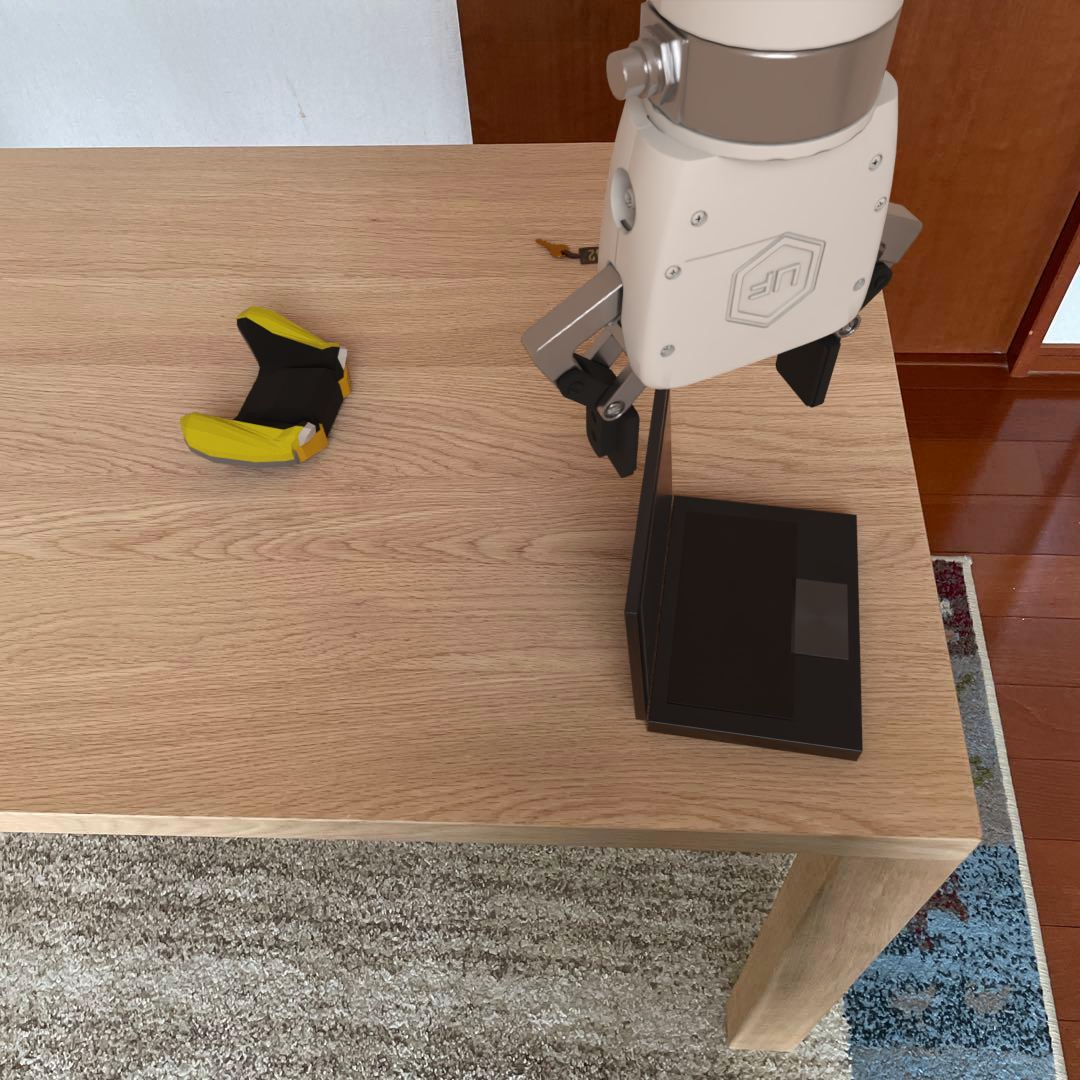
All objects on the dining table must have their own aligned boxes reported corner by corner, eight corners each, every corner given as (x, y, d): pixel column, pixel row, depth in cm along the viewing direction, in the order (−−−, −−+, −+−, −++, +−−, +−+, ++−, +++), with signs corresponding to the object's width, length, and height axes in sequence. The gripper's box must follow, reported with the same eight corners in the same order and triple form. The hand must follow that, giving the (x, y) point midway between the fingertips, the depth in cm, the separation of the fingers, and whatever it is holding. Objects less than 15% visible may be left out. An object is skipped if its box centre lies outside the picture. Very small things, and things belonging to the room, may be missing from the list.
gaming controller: (190, 478, 73) (310, 494, 71) (164, 431, 68) (292, 448, 67) (260, 345, 81) (369, 358, 80) (241, 295, 77) (356, 308, 75)
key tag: (622, 246, 87) (622, 241, 86) (618, 267, 85) (618, 262, 84) (535, 240, 88) (535, 234, 87) (530, 260, 86) (529, 255, 86)
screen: (671, 364, 58) (658, 364, 58) (639, 614, 47) (623, 612, 48) (673, 494, 68) (662, 493, 68) (648, 721, 58) (635, 720, 58)
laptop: (851, 527, 68) (857, 513, 66) (856, 761, 58) (863, 751, 56) (672, 507, 69) (673, 493, 68) (646, 731, 59) (648, 720, 58)
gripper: (560, 191, 25) (571, 545, 40) (1070, 37, 29) (913, 414, 43) (464, 63, 30) (505, 426, 44) (921, -59, 33) (822, 314, 47)
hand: (707, 420), depth 43 cm, fingers open, 9 cm apart
